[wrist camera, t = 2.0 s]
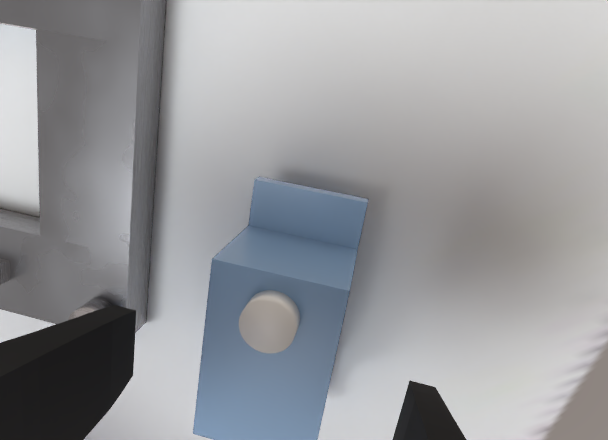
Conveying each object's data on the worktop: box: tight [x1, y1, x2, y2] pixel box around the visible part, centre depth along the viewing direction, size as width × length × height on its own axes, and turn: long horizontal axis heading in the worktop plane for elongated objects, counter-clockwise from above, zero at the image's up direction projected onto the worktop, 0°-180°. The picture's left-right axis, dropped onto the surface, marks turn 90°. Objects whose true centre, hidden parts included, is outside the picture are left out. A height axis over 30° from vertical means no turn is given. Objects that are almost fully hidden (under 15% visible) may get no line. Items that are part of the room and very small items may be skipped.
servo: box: [193, 177, 368, 440], centre depth 13 cm, size 8×4×6 cm, turn 171°
